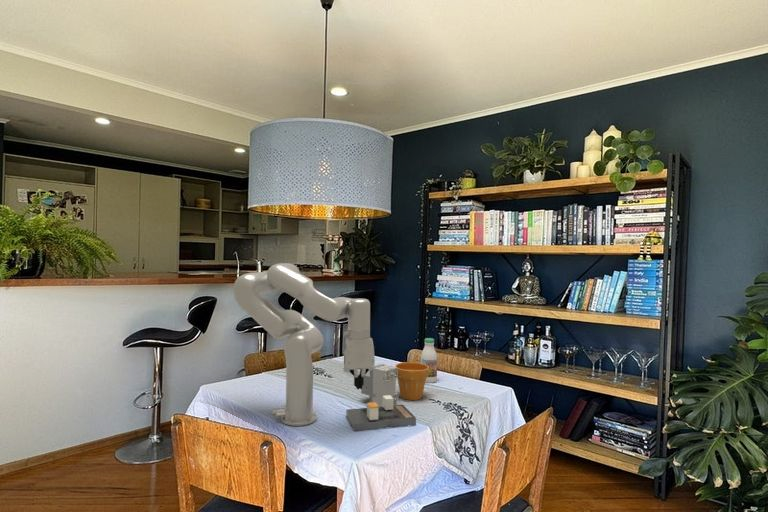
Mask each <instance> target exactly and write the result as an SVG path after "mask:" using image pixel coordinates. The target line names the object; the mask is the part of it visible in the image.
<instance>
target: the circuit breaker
mask: <svg viewBox="0 0 768 512" xmlns="http://www.w3.org/2000/svg"><path fill="white" fill-rule="evenodd" d="M395 374H396V375H395ZM396 379H398V371H397V367H395V365H394V366H393V365H389V364H385V363H380V364H377V365H374V370H371V371H368V372H367V373H366V374H365V376H364V385H363V386H362V389H360V390H361V391H360V392H361V393H360V394H363V395H366V396H368V397H369V398H368V399H369V402H368V403H372V402H376V404H377V405H378V406H379V407H382V401H383V396H386V395H391V396H392V398H393V406H394V405H398V403H397V402H398V392H396V390H397V389H396V388H397V387H396V386H397V380H396Z"/></svg>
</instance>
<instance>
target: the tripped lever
mask: <svg viewBox="0 0 768 512" xmlns="http://www.w3.org/2000/svg"><path fill="white" fill-rule="evenodd" d="M366 408H367V417H368V418H369V420H377V419H378V408H379V406H378V405H377V404H376V402H372V403H369V402H366Z"/></svg>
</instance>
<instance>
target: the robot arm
mask: <svg viewBox="0 0 768 512" xmlns="http://www.w3.org/2000/svg"><path fill="white" fill-rule="evenodd" d="M278 290H280V291H282V292H284V293H286V294H288V295H289V296H290V297H293V298H294V299H296V300H298V301H299V302H300V304H301V305H302V306H303V307H304V308H305V309H306V310H307V311H308V312H310V313H311V314H313V315H315V316H317V317H318V318H321V319H322V320H324V321H327V322H336V321H339V320H341V319H342V320H343V319H345V318H347V321H348V322H347V323H348V324H347V331H344V332H343V335H344V336H343V337H347V338H345V343H344V344H345V345H344V353H343V364H344V365H343V369H342V370H343V372H344V373H347V374H348V373H349V374H351V375H352V376H353V386H354V387H355V388H356V389H357V390H361V389H362V386H363V385H364V376H365V374H366V373H369V372H370V371H371V370H374V366H376V365H375V364H376V363H375V361H376V360H375V358H376V357H375V345H374V340H373V338H372V337H371V302H370V300H369V299H367V298H359V297H358V298H351V297H345V296H338V297H334V298H331V297H329V296H326V295H324V294H323V293H322V292H320V291H318V290H317V289H316V288H315V287H314V282H313V279H311V278H309V277H308V276H306V275H304V274H302V273H300V269H299V268H298V267H297V266H296V264H293V263H290V262H289V263H288V262H287V263H286V262H285V263H283V262H282V263H275V264H273V265H271V266H270V267H269V268H268V270H265V271H257V272H248V273H243V274H241V275H240V276H238V277H237V278H236V279H235V281H234V284H233V296H234V300H235V302H236V304H237V305H238V306H239V307H240V309H241V310H243V311H244V312H245V313H246V314H247V315H248V316H250V317H251V318H252V319H253V320H254V321H255V322H256V323H257V324H258V325H260V327H261V328H263V329H264V331H266V332H267V333H268V334H269V335H270V336H271V337H273V338H274V339H284V338H286V340H285V341H284V345H283V346H284V347H283V348H284V349H283V351H284V357H285V371H286V372H285V379H286V380H285V404H284V406H283V407H281V409H280V408H279V409H272V416H275V417H277V418H278V417H279V418H280V421H281V423H282V424H284V425H287V426H292V427H293V426H294V427H301V426H308V425H310V424H312V423H315V422H316V421H317V420H318V415H317V413H315V412H314V409H313V408H314V364H313V361H312V360H313V359H312V355H313V354H315V353H317V352H318V351H320V350H321V348H322V347H323V345H324V336H323V334H322V332H321V331H320V329H318V328H317V327H316V326H315V325H314V324H313V323H312V322H311V321H309V319H307V318H306V317H305V316H304V315H302V314H301V313H300V312H298V311H296V310H294V309H285V310H280V309H279V308H278V307H277V306H275V304H273V303H272V302H271V301H270V300H268V299H267V298H265V297H263V296H262V295H265V294H270V293H273V292H276V291H278ZM358 370H359V373H358Z"/></svg>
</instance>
